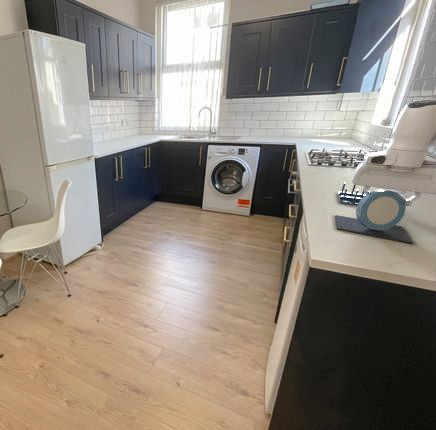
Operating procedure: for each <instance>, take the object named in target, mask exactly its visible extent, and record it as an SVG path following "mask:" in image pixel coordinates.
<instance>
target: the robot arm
mask: <svg viewBox="0 0 436 430" xmlns="http://www.w3.org/2000/svg"><path fill="white" fill-rule="evenodd" d="M430 147H431V148H435V149H436V99H434V100H433V99H427V100H424V99H423V100H417V101H412V102H410V103H406V105H404V107H403V108H402V110H401V111H400V113H399V115H398V117H397V119H396V121H395V124H394V126H393V128H392V131H391V139H390V142H389V143H388V144H387V146H386V149H385V150H383V151H377V152H376V151H375V152H369V153H366V154H364V156H363V161H361V162H360V163H359V164H358V165H357V166H356V168H355V170H354V172H353V174H352V177H351V179H350V180H351V184H353V186H354V185H356V186H360V187H362V190H363V189H364V192H365V193H364V195H367V194H368V191H369V190H370V189H371V188H378V189H384V190H392V189H394V190H402V191H407V192H410V193H412V196H410V197H409V198H407V199H405V200H404V202H403V205H406V207H411V206H412V204H413V202H414V201H415V200H417V199H418V198H420V197H421V195H422V194H428V195H436V161H433V160H425V159H426V157H427V156H428V152H429V149H430Z"/></svg>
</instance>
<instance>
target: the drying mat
mask: <svg viewBox="0 0 436 430" xmlns="http://www.w3.org/2000/svg"><path fill="white" fill-rule="evenodd" d="M335 222H336V223H335V224H336V225H335V226H336V231H341V232H347V233H353V234H358V235H362V236H367V237H373V238H378V239H382V240H389V241H394V242H397V243H398V242H399V243H405V244H409V245H413V240H412V239H411V238H410V236H409V234H408V233H407V232H406V230H405V228H404V227H403V226H402V225H397V224H396V225H395V226H393V227H391V228H389V229H386V230H372V229H369V228H366V227H364V226H363V225H361V224H360V223H359V221H358V219H357V217H356V218H355V217H349V216H344V215H338V214H335Z"/></svg>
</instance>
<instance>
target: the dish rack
mask: <svg viewBox="0 0 436 430" xmlns="http://www.w3.org/2000/svg"><path fill="white" fill-rule="evenodd" d="M346 184H347V182H343V185H342V187H341V191H338V192H337V197H338V203H339V204H342V205H347V206H355V207H357V206H358V203H359V202H360V200H361V199H362V198H363V197H364V196H365V192H364V189H363V188H362V192H361V193H359V191H360V190H359V189H356V186H357V185H354V184H353V186H352V190H351V192H348V188H347V187H346ZM345 187H346V188H345ZM355 189H356V191H355ZM367 192H368V193H370V192H371V191H369V190H367Z"/></svg>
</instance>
